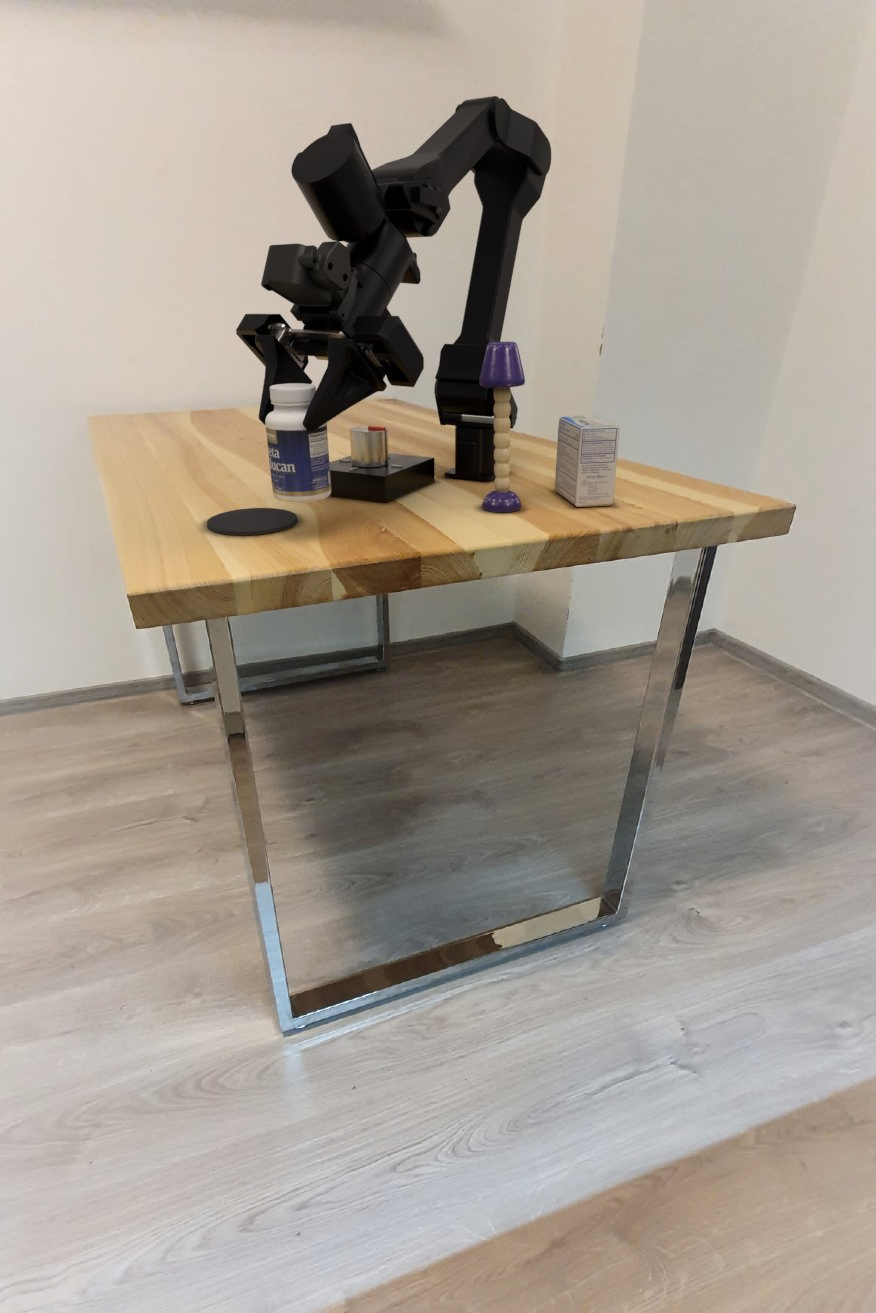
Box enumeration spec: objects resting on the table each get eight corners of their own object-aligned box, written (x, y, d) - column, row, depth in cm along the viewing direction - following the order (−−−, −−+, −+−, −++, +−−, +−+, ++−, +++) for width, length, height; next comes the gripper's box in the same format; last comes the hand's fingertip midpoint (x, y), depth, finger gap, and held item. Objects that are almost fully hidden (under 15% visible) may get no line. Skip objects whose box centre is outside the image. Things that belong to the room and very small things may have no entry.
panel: (367, 474, 95) (365, 449, 94) (434, 481, 91) (434, 456, 89) (312, 493, 85) (310, 466, 84) (385, 503, 81) (384, 474, 80)
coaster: (247, 507, 80) (247, 504, 79) (315, 517, 76) (314, 514, 76) (187, 528, 72) (187, 524, 72) (258, 540, 69) (258, 536, 69)
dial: (344, 465, 85) (342, 427, 83) (364, 458, 89) (362, 422, 87) (376, 468, 83) (375, 430, 81) (395, 462, 87) (394, 424, 85)
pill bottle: (260, 500, 67) (247, 387, 62) (297, 487, 71) (287, 381, 67) (308, 506, 64) (298, 390, 60) (343, 493, 69) (335, 383, 64)
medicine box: (613, 506, 80) (622, 424, 76) (574, 508, 79) (581, 426, 75) (589, 490, 87) (596, 414, 83) (553, 491, 86) (558, 415, 82)
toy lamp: (488, 515, 77) (493, 343, 69) (469, 505, 81) (472, 341, 73) (528, 510, 78) (537, 342, 71) (507, 500, 82) (514, 340, 75)
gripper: (239, 214, 65) (152, 355, 62) (398, 198, 55) (304, 366, 52) (310, 309, 74) (238, 436, 71) (458, 311, 64) (381, 459, 61)
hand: (284, 425), depth 64 cm, fingers closed on pill bottle, 5 cm apart
